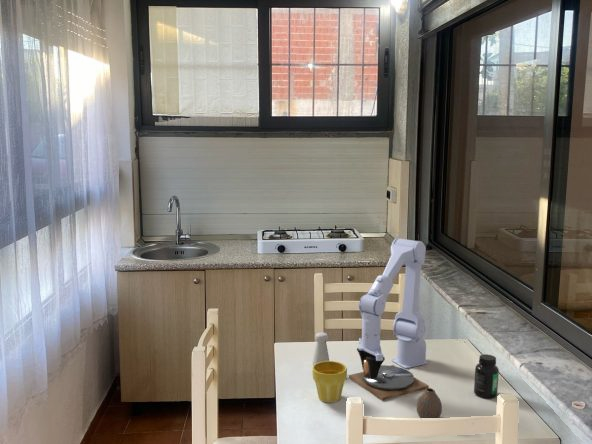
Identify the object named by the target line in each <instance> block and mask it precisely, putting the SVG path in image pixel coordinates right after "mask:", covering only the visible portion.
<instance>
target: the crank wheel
mask: <svg viewBox="0 0 592 444" xmlns="http://www.w3.org/2000/svg"><path fill="white" fill-rule="evenodd" d="M395 366H396V365H394V366H391V365H386V364H384V365H383V364H382V365H381V367H380V369H379V372H378V376H377V378H370V375H369V366H368V362H367V360H366V358H365V359H364V369H363V368H362V370H363V371H362V372H363V380H364V382H365V383H367V384H368V385H370V386H372V387H375V388H378V389H383V390H402V389H406V388H408V387H410V386H412V384H413V382H414V374H413V373H412V372H411V371H409V370H407V369H406V368H404V367H401V366H400V367H399V366H396V367H395Z"/></svg>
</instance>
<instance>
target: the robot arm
mask: <svg viewBox="0 0 592 444" xmlns="http://www.w3.org/2000/svg"><path fill="white" fill-rule="evenodd" d="M426 247H427V246H426V245H425V244H424V242H423V241H421V240H412V239H407V238H400V237H396V238H394V239H393V241H392V243H391V245H390V257H389V260H388V262H387V264H386V266H385V269H384V270H383V273H382V274H380V275H377V277H376V278H375V280H374V282H373V283H372V285H371V287H370V289H369V290H368V292H367V293H365V294H364V295H362V296H361V297H360V299H359V301H358V302H359V303H358V310H359V312H360V316H361V318H362V321H361V322H362V323H361V337H359V338H358V344H359V345H358V346H357V348H356V351H357V352H358V354H359V355H358V356H359V357H360V361H361V367H362V370H363V369H364V359H365V358H366V360H367V362H368V366H369V375H370V378H377V376H378V372H379V369H380V367H381V365H383V363H384V361H385V359H386V358H385V356H384V353H382V348H381V324H382V322H381V321H382V314H383V313H384V312H385V309H386V304H387V301H388V300H387V298H388V296H389V295H390V292H391V291H392V288H393V287H394V283H393V280H394V278H395V277H396V275H397V274H398V273H399V271H400V269H401V268H402V267H403V265H405V270H404V271H405V274H404V282H403V283H404V284H403V285H404V286H403V296H402V298H403V299H402V306H401V307H402V308H401V309H402V310H400V311H398V312H397V313H396V314H395V316H394V321H393V324H392V331H393V334H395V335H396V336H395V338H397V353H396V357H394V358H392V359H391V362H393V363H395V364H397V365H398V366H400V367H401V368H403V369H410V368H414V367H418V366H423V365H427V364H428V362H427V360H426V356H427V344H426V340H425V338H424V337H425V334H426V325H425V321H426V320H425V317H424V316H423V315H422V314H421V313H420V311H418V310H419V309H418V308H419V297H420V286H421V276H422V273H421V272H422V265H425V260H426V250H427V248H426Z"/></svg>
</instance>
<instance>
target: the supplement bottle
mask: <svg viewBox="0 0 592 444" xmlns="http://www.w3.org/2000/svg"><path fill="white" fill-rule="evenodd" d="M474 368H475V369H474V383H473V384H474V387H473V393H474V394H475V395H476V397H479V398H481V399H485V400H486V399H487V400H492V399H495V398H496V397H497V396H498V388H499V386H498V385H499V375H500V371H499V370H500V369H499V367H498V366H497V357H496V356H494V355H491V354H480V355H479V360H478V363H477V364H476V365H475V367H474Z"/></svg>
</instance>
